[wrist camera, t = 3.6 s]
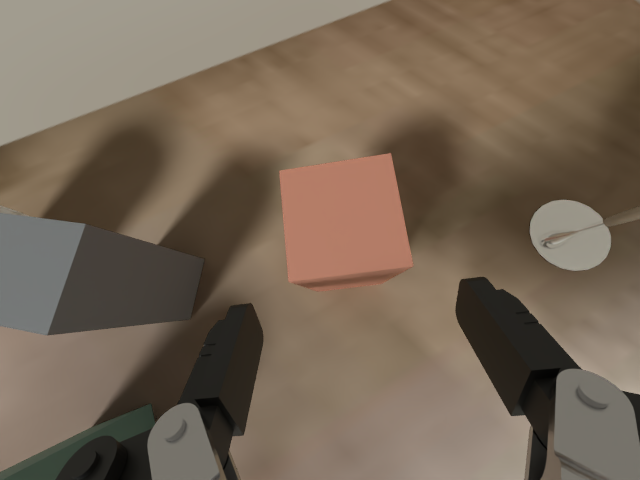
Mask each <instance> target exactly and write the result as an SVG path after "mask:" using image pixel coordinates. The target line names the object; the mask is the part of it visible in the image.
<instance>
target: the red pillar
mask: <svg viewBox="0 0 640 480" xmlns="http://www.w3.org/2000/svg"><path fill="white" fill-rule="evenodd" d="M279 174H280V185H281V197H282V209H283V220H284V232H285V244H286V256H287V267H288V279H289V282H291V283H294V284H297V285H300V286H303V287H306V288H309V289H312V290H315V291H318V292H319V291H327V290H335V289H343V288H352V287H360V286H368V285H376V284H382V283H384V282H386V281H387V280H389V279H391V278H393V277H395V276H397V275H398V274H400V273H402V272H404V271H406V270H407V269H409V268H411V267H413V261H412V256H411V251H410V246H409V241H408V236H407V231H406V226H405V221H404V216H403V211H402V206H401V201H400V196H399V191H398V186H397V181H396V176H395V171H394V166H393V161H392V156H391V153H388V154H382V155H376V156H369V157H363V158H357V159H350V160H344V161H338V162H331V163H325V164H319V165H312V166H306V167H300V168H293V169H287V170H281V171H279Z"/></svg>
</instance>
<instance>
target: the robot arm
mask: <svg viewBox="0 0 640 480" xmlns="http://www.w3.org/2000/svg"><path fill="white" fill-rule="evenodd" d="M456 317H457V320H458V323H459V325H460V327H461V329H462V330H463V332H464V334H465V336H466V337H467V339H468V341H469V343H470V344H471V346H472V348H473V350H474V352H475V353H476V355H477V357H478V359H479V360H480V362H481V364H482V366H483V367H484V369H485V371H486V373H487V375H488V376H489V378H490V380H491V382H492V383H493V385H494V387H495V389H496V390H497V392H498V394H499V396H500V397H501V399H502V401H503V403H504V405H505V406H506V408H507V410H508V412H509V413H510V415H511V416H519V415H525V416H526V417H527V419H528V421H529V422H530V424H531V426H530V430H529V439H528V449H527V458H526V468H525V478H524V480H640V395H639V394H634V393H629V392H625V391H621V390H620V389H619V388H618V387H616V386H615V385H614V384H612V383H611V382H609V381H608V380H606V379H605V378H603V377H601V376H599V375H597V374H594V373H592V372H589V371H586V370H582V369H581V368H580V367H579V366H578V365H577V364H576V363H575V362H574V361H573V359H572V358H571V357H570V356H569V355H568V354H567V353H566V352H565V351H564V349H563V348H562V347H561V346H560V345H559V344H558V343H557V342H556V341H555V339H554V338H553V337H552V336H551V335H550V334H549V333H548V332H547V330H546V329H545V328H544V327H543V326H542V325H541V324H539V323H538V320H537V319H536V318H535V317H534V316H533V315H532V314H530V313H529V310H528V309H527V308H526V307H525V306H524V305H523V304H522V303H521V302H520V300H519V299H518V298H516V297H514V296H513V295H511V294H510V293H508V292H506V291H505V290H503V289H501V290H496V289H495V288H494V287H493V285H492V284H491V283H490V282H489V281H488V279H486V278H485V277H477V278H468V279H462V280H461V281H460V283H459V289H458V296H457V302H456ZM262 346H263V331H262V327H261V325H260V322H259V320H258V317H257V315H256V312H255V310H254V307H253V305H252V304H251V303H249V304H240V305H232V306H231V307H230V308H229V311H228V313H227V316H226V318H225V320H219V321H218V322H217V323H216V324H215V326H214V327H213V328H212V329H211V330H210V331H209V333H208V336H207V338H206V340H205V343H204V347H202V349H201V352H200V354H199V358H198V359H197V361H196V363H195V366H194V368H193V370H192V373H191V375H190V377H189V380H188V382H187V384H186V387H185V389H184V391H183V394H182V396H181V398H180V400H179V402H178V404H177V405H176V406H174V407H173V408H171V409H169V410H168V411H167V412H165V413H164V414H163V415H162V416H161V417H160V418H159V420H158V421H157V422H156V424H155V425H154V427H153V428H151V429H149V430H147V431H145V432H142V433H140V434H138V435H135V436H133V437H131V438H128V439H126V440H124V441H121V442H118V441H117V440H116V439H115V438H113V437H112V436H108V435H107V436H100V437H97V438H95V439H93V440H91V441H89V442H88V443H86V444H85V445H84V446H82V447H81V448H80V449H79V450H78V451H77V452H75V453H74V454H73V456H72V457H71V458H70V459H69V460H68V461H67V463H66V464H65V465H64V467H63V468H62V470H61V471H60V473H59V475H58V476H57V478H56V480H241V478H240V476H239V473H238V471H237V468H236V465H235V463H234V460H233V458H232V455H231V453H230V450H229V448H230V444H231V440H232V436H242V435H244V432H245V427H246V422H247V417H248V413H249V408H250V403H251V398H252V394H253V389H254V384H255V379H256V374H257V370H258V365H259V360H260V355H261V351H262Z"/></svg>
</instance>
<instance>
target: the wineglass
mask: <svg viewBox="0 0 640 480" xmlns="http://www.w3.org/2000/svg"><path fill="white" fill-rule="evenodd" d="M639 219H640V206H638V207H635V208H632V209H630V210H627V211H624V212H622V213H619V214H616V215H613V216H611V217H608V218H605V219H602V217H601V216H600V215H599V214H598V213H597V212H595V211H594V210H593V209H592V208H590V207H589V206H586V205H584V204H582V203H579V202H577V201H571V200H556V201H551V202H549V203H547V204H545V205H542V206H541V207H540V208H539V209H538V210H537V211H536V212H535V213H534V216H533V218H532V220H531V222H530V236H531V239H532V243H533V245H534V246H535V248H536V249H537V251H538V252H539V254H540V255H541V256H542V257H544V258H545V259H546V260H547V261H548V262H549V263H551V264H554V265H556V266H558V267H560V268H562V269H567V270H573V271H579V270H588V269H590V268H593V267H595V266H597V265H599V264H600V263H601V262H602V261H603V260H604V259H605V258H606V257H607V255H608V252H609V250H610V247H611V235H610V232H609V229H608V227H611V226H615V225H619V224H623V223H627V222H631V221H635V220H639Z"/></svg>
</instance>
